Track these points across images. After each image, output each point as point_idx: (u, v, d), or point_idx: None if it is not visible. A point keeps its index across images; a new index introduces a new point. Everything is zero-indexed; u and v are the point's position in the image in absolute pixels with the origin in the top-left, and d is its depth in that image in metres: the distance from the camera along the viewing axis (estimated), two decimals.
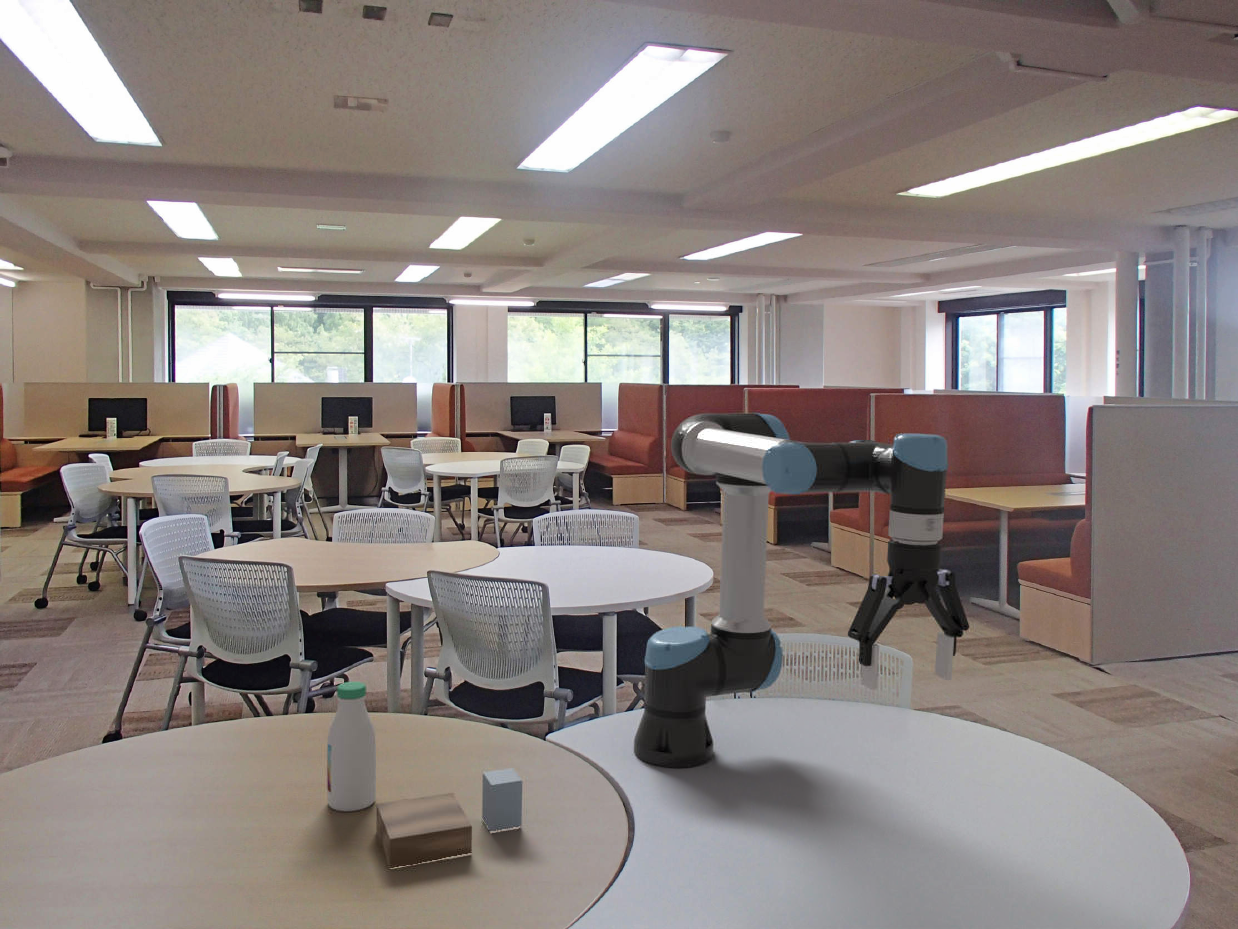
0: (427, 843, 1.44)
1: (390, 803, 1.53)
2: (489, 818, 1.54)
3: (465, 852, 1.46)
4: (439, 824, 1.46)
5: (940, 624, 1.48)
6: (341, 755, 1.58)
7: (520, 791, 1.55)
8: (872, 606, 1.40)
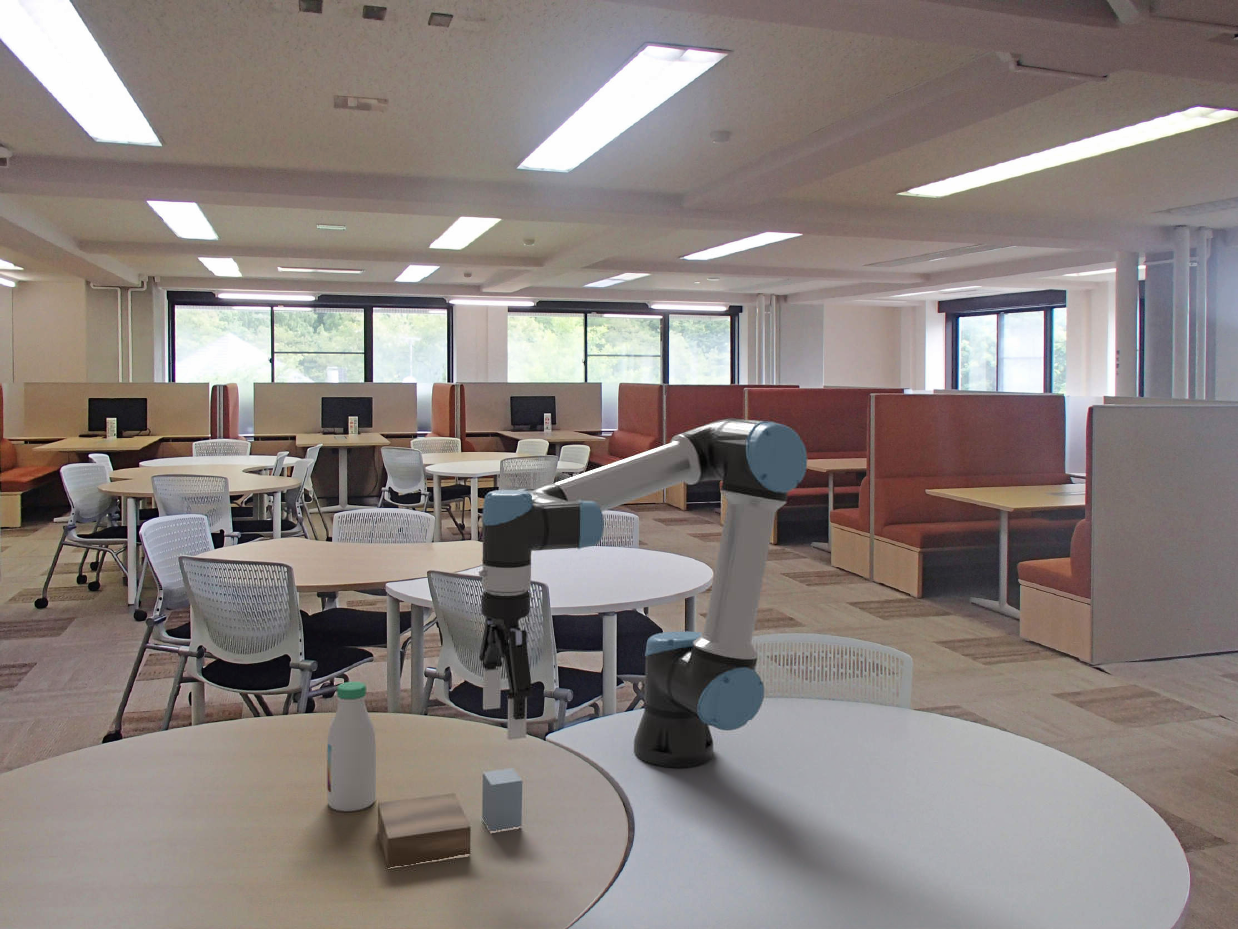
0: (425, 844, 1.44)
1: (391, 802, 1.53)
2: (489, 818, 1.54)
3: (464, 853, 1.46)
4: (438, 824, 1.46)
5: None
6: (341, 755, 1.58)
7: (520, 791, 1.55)
8: (483, 634, 1.60)
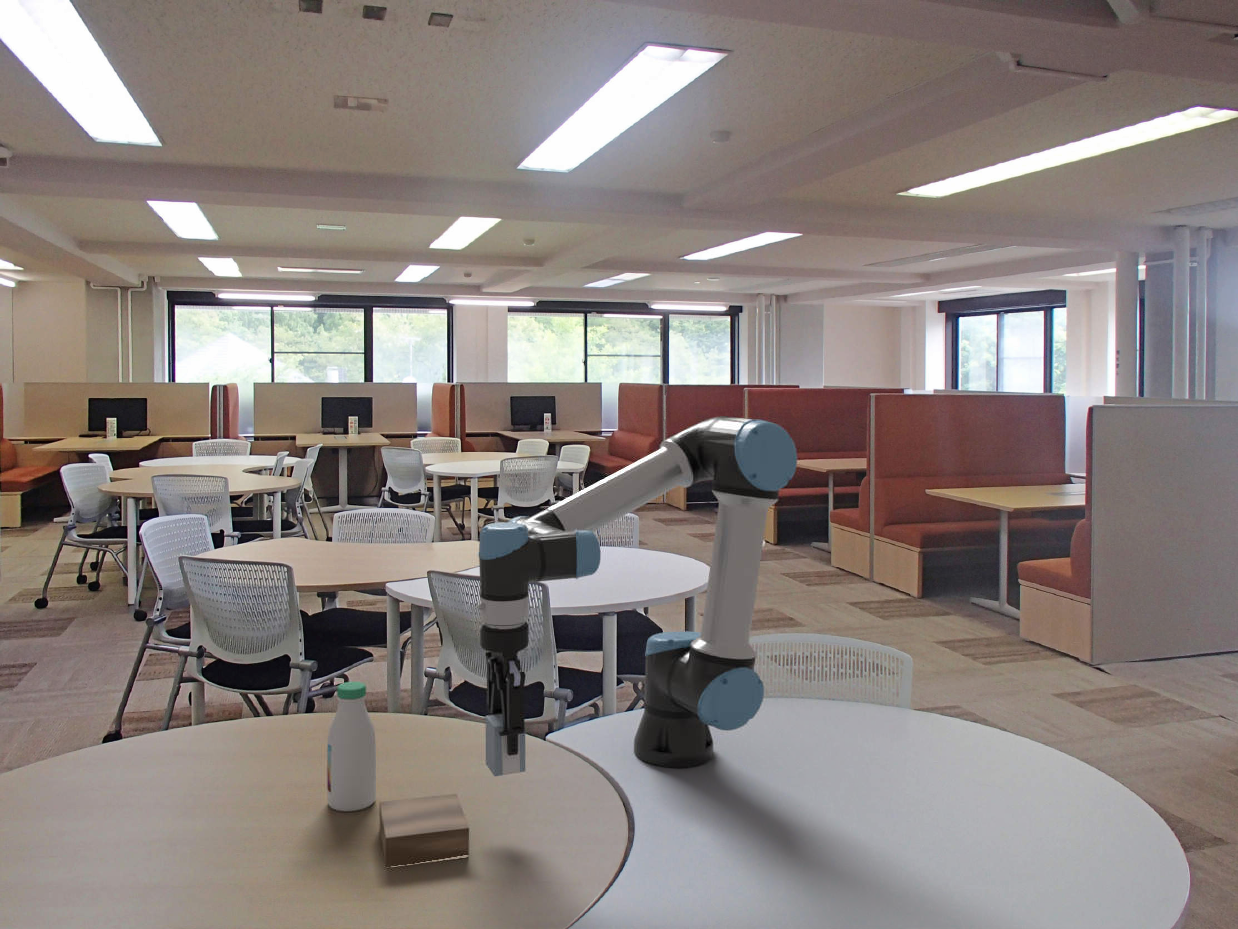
0: (423, 844, 1.44)
1: (393, 802, 1.53)
2: (493, 760, 1.53)
3: (462, 854, 1.46)
4: (436, 825, 1.46)
5: None
6: (341, 755, 1.58)
7: (523, 733, 1.54)
8: (487, 678, 1.60)
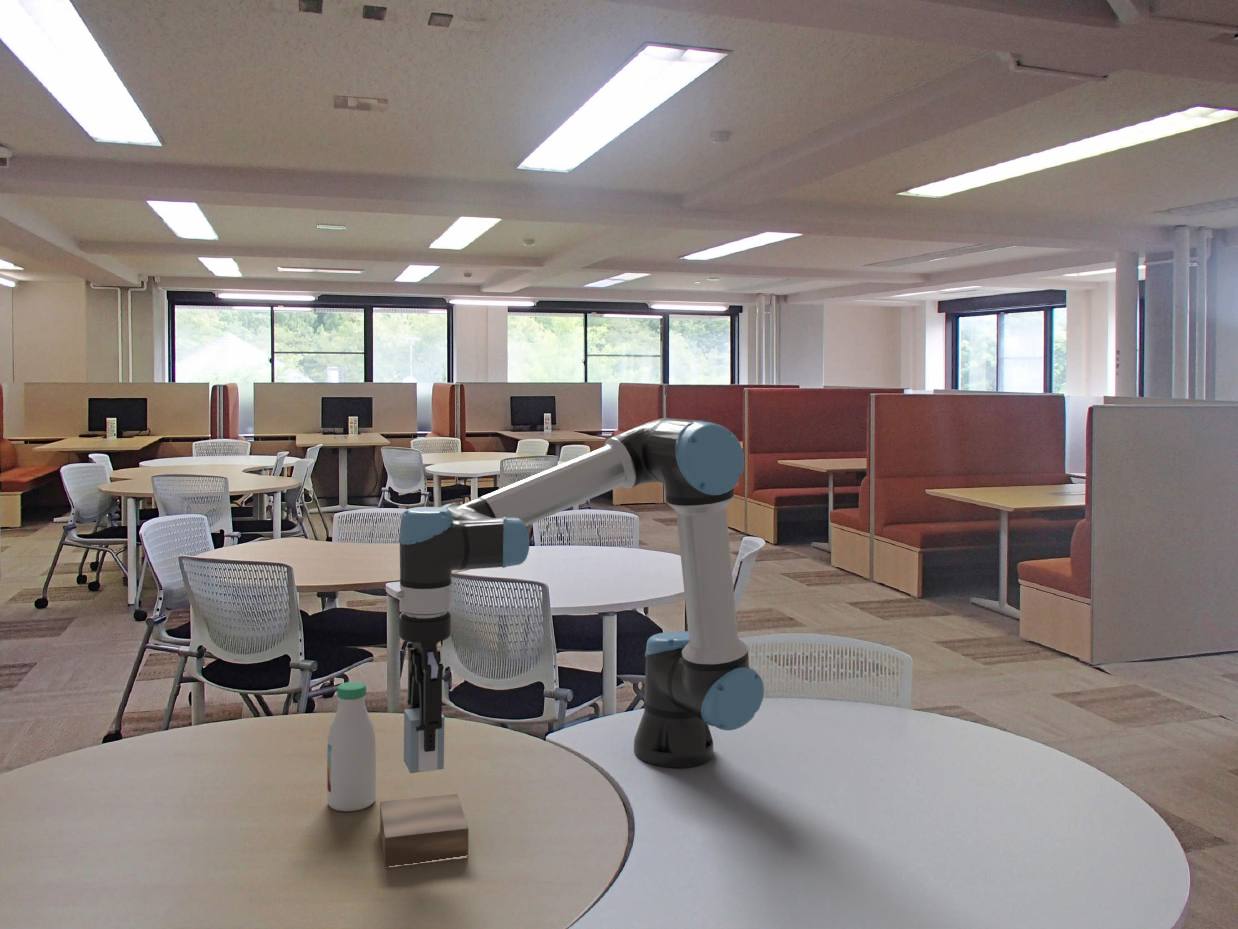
0: (422, 844, 1.44)
1: (393, 801, 1.53)
2: (409, 756, 1.46)
3: (461, 854, 1.45)
4: (436, 825, 1.46)
5: None
6: (341, 755, 1.58)
7: (442, 728, 1.46)
8: (408, 671, 1.52)
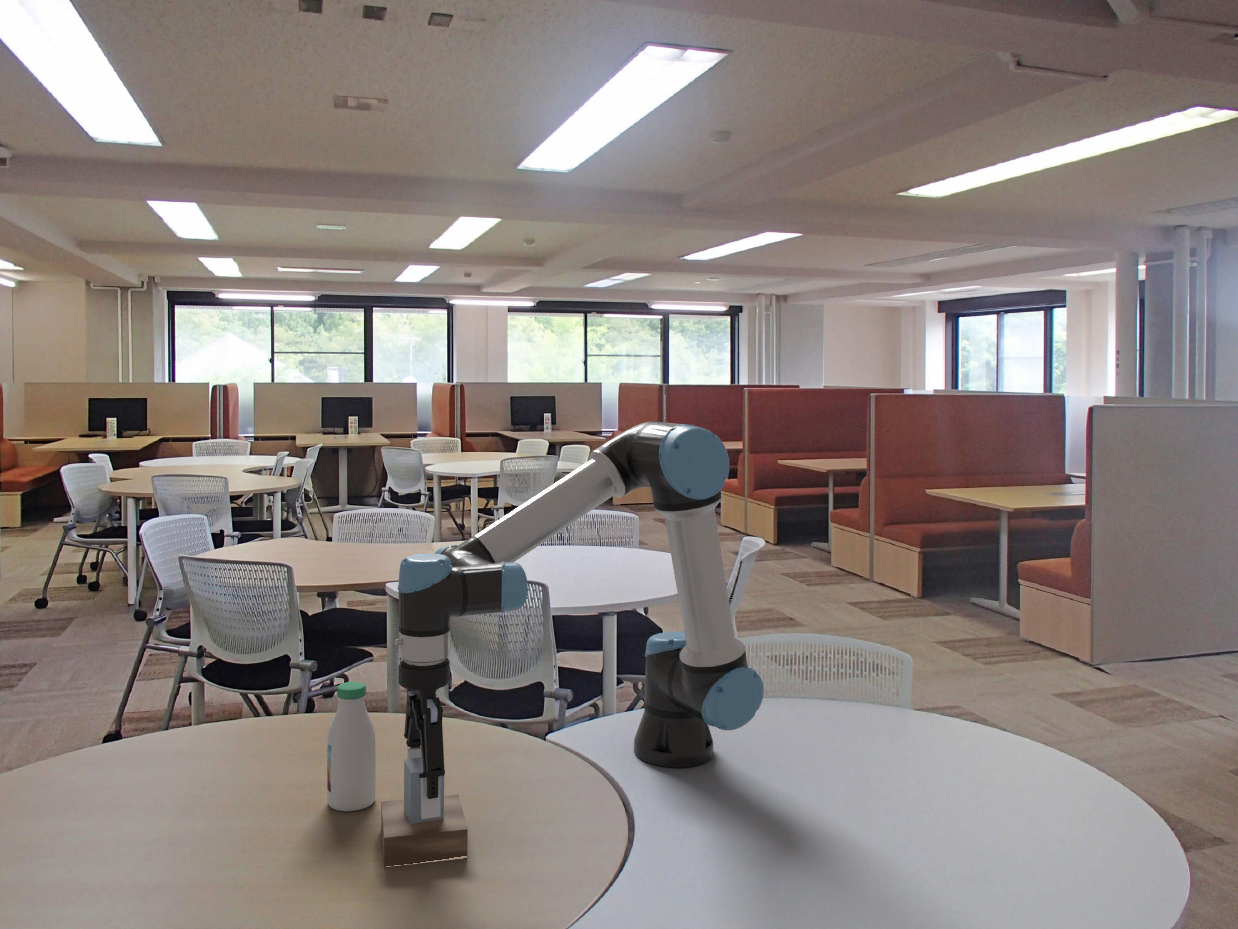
0: (421, 844, 1.44)
1: (394, 801, 1.53)
2: (409, 807, 1.47)
3: (461, 855, 1.45)
4: (435, 825, 1.46)
5: None
6: (341, 755, 1.58)
7: (442, 779, 1.47)
8: (406, 707, 1.54)
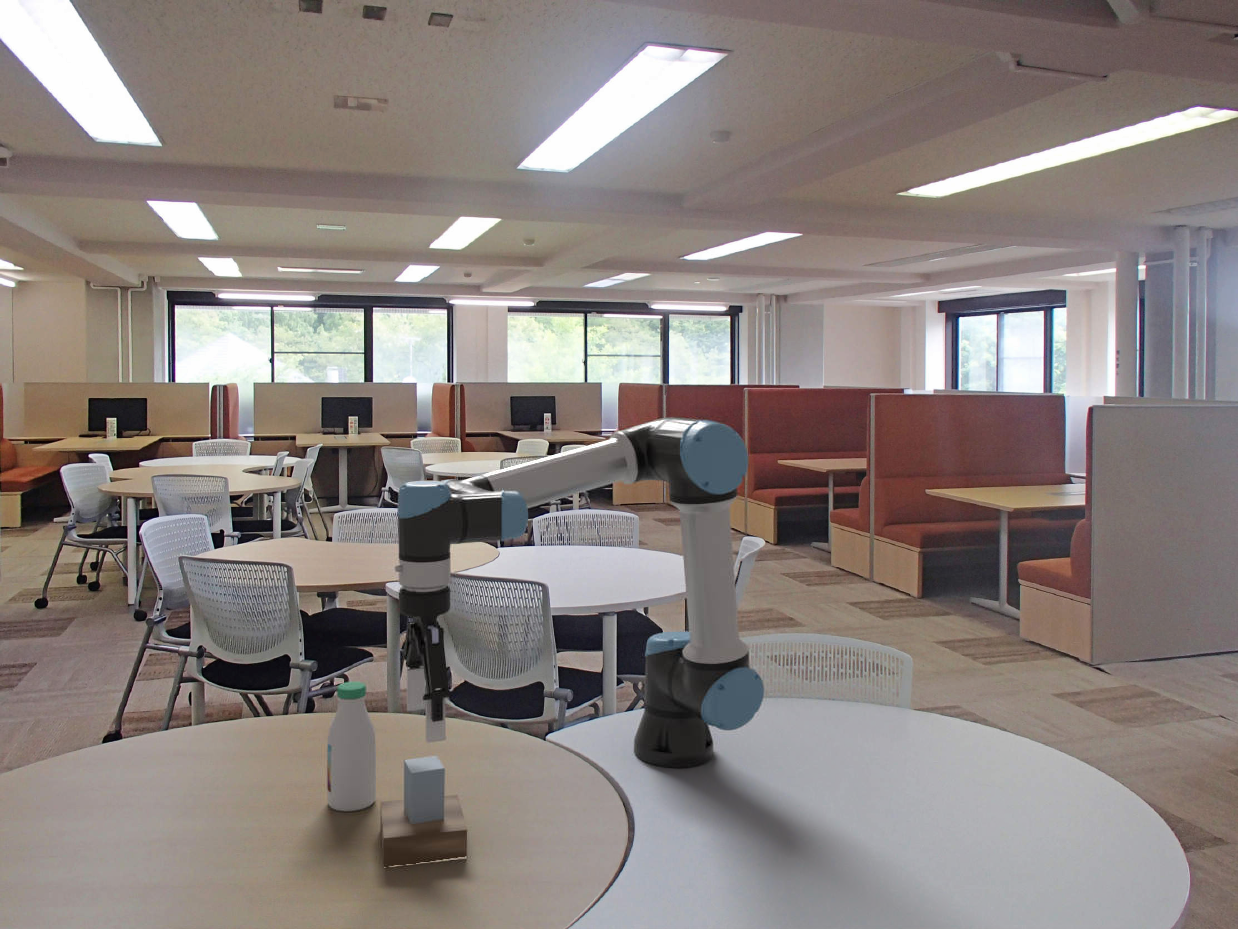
0: (421, 845, 1.43)
1: (394, 802, 1.53)
2: (409, 808, 1.47)
3: (460, 856, 1.45)
4: (435, 826, 1.46)
5: None
6: (341, 755, 1.58)
7: (442, 779, 1.47)
8: (406, 631, 1.53)
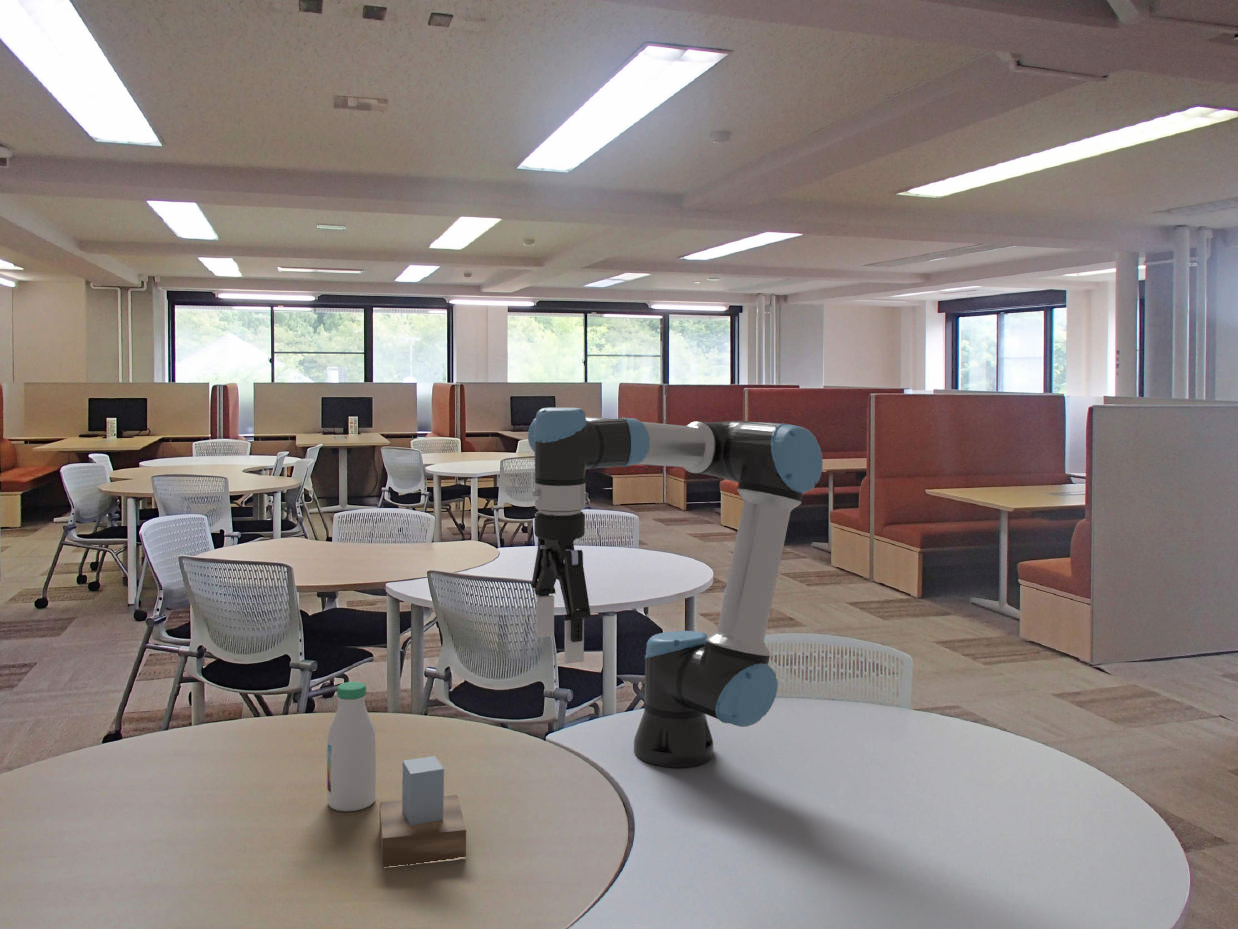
0: (420, 845, 1.43)
1: (393, 802, 1.53)
2: (408, 809, 1.46)
3: (459, 856, 1.45)
4: (434, 826, 1.46)
5: None
6: (341, 755, 1.58)
7: (442, 780, 1.47)
8: (536, 559, 1.55)
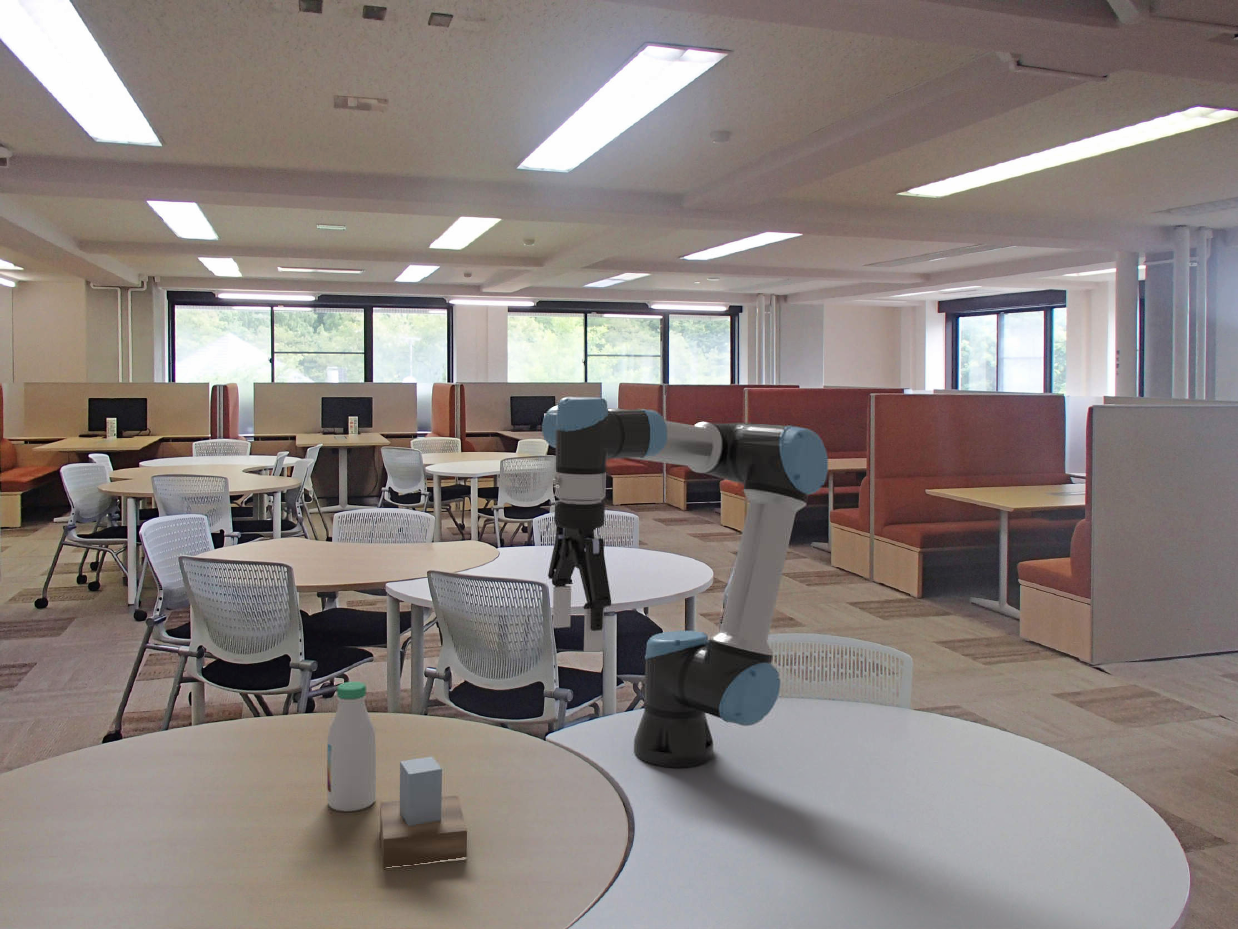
0: (421, 846, 1.43)
1: (393, 802, 1.53)
2: (407, 809, 1.46)
3: (460, 857, 1.45)
4: (435, 827, 1.46)
5: None
6: (341, 755, 1.58)
7: (440, 780, 1.47)
8: (553, 549, 1.55)
